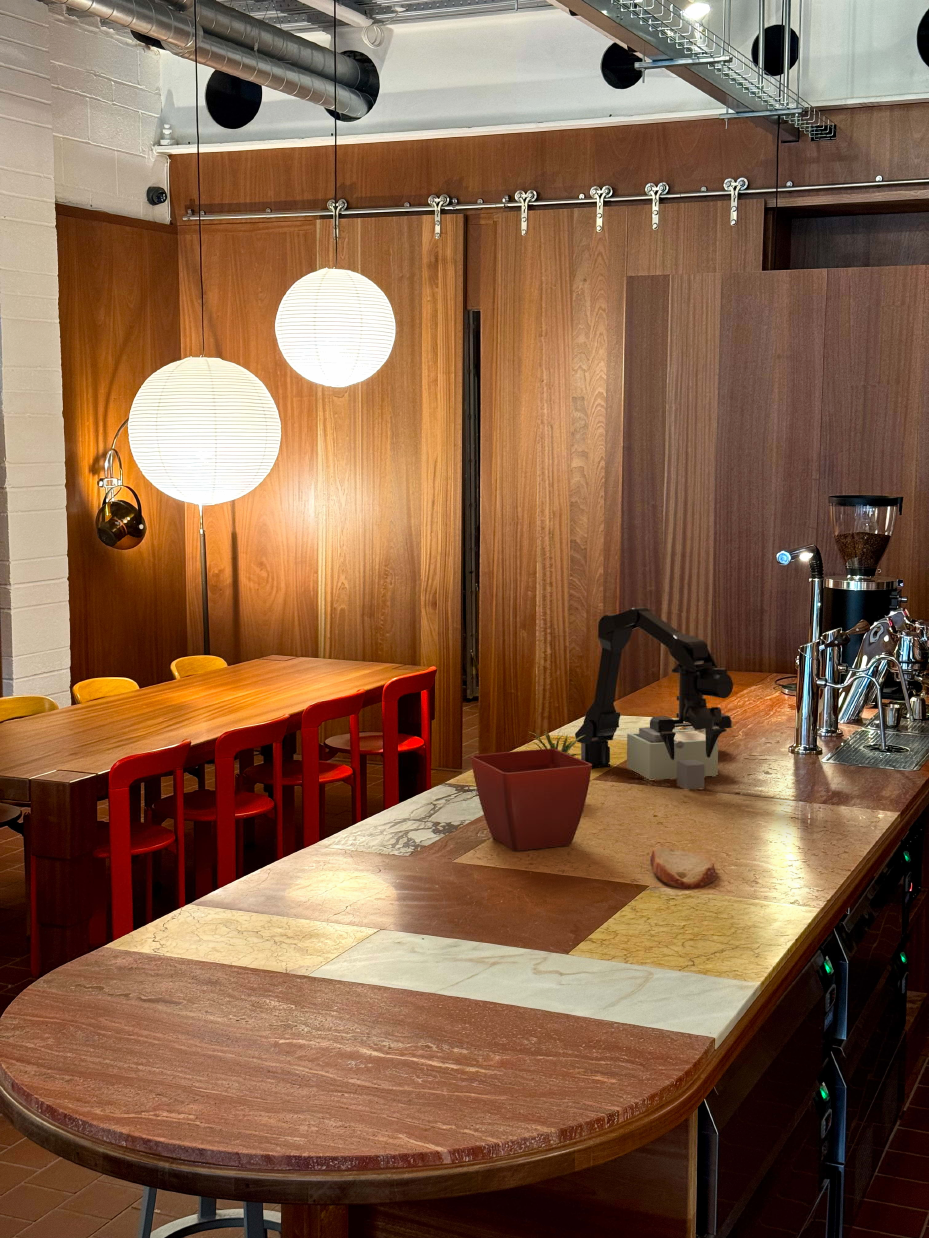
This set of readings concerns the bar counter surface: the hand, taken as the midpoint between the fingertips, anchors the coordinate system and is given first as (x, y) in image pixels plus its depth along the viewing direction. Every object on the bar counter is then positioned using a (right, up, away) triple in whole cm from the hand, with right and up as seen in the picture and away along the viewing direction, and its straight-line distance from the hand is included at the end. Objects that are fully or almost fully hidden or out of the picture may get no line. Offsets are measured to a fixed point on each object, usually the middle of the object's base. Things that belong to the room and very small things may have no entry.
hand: (690, 758), depth 319 cm
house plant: (-34, -8, -9) cm, 36 cm away
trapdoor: (-1, +1, +16) cm, 16 cm away
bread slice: (-14, -15, -67) cm, 70 cm away
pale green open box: (-2, -5, +17) cm, 17 cm away
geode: (+7, -3, +39) cm, 40 cm away
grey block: (0, -7, +1) cm, 7 cm away
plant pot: (-40, -12, -46) cm, 62 cm away
